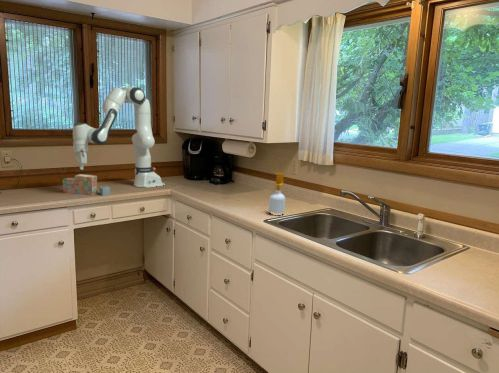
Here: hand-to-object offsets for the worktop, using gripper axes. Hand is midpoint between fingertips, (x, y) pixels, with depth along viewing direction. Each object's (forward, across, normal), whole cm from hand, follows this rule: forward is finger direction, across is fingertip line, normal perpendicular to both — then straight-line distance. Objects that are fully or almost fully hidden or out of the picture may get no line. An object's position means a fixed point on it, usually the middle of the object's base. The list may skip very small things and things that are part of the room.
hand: (81, 169), depth 254 cm
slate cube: (+16, -9, -12) cm, 22 cm away
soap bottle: (+16, -96, -89) cm, 132 cm away
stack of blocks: (+16, 0, +1) cm, 16 cm away
